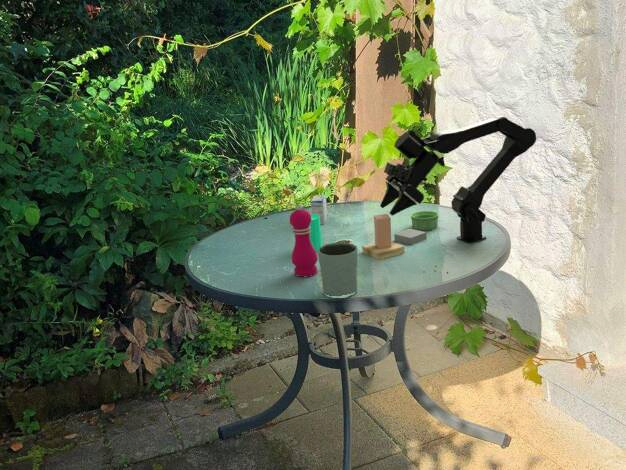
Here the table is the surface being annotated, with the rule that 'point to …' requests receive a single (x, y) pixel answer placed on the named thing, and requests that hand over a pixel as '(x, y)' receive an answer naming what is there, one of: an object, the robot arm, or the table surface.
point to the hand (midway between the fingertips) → (385, 210)
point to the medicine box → (319, 207)
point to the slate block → (410, 236)
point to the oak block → (383, 250)
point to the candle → (315, 232)
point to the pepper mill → (303, 243)
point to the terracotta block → (382, 231)
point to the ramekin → (424, 220)
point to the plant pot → (338, 268)
